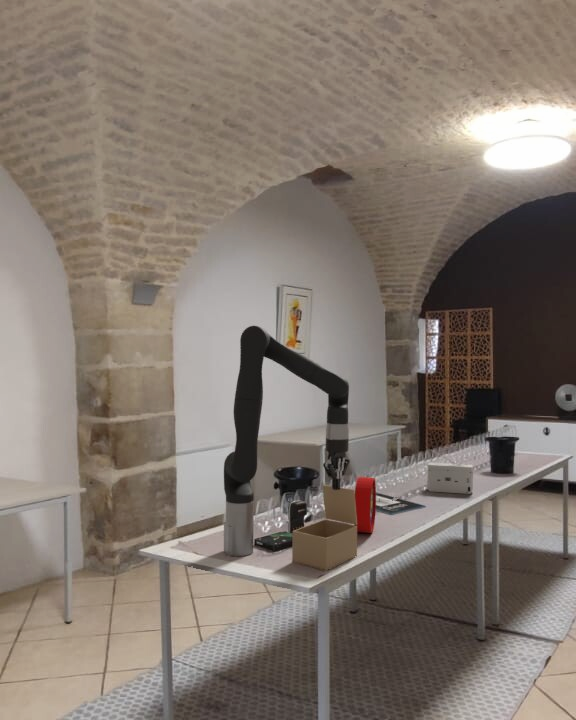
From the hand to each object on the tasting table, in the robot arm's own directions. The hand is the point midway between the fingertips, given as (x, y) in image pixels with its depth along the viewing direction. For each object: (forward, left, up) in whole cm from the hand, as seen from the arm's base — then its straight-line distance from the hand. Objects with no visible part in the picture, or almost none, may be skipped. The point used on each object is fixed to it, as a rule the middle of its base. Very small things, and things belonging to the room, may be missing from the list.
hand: (336, 489), depth 220 cm
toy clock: (+22, +21, -22) cm, 37 cm away
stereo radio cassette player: (+91, +67, -22) cm, 115 cm away
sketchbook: (+49, +56, -22) cm, 78 cm away
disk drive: (-13, +17, -22) cm, 31 cm away
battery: (-2, +28, -22) cm, 35 cm away
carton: (-5, -3, -22) cm, 22 cm away
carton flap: (+2, +1, -5) cm, 6 cm away
